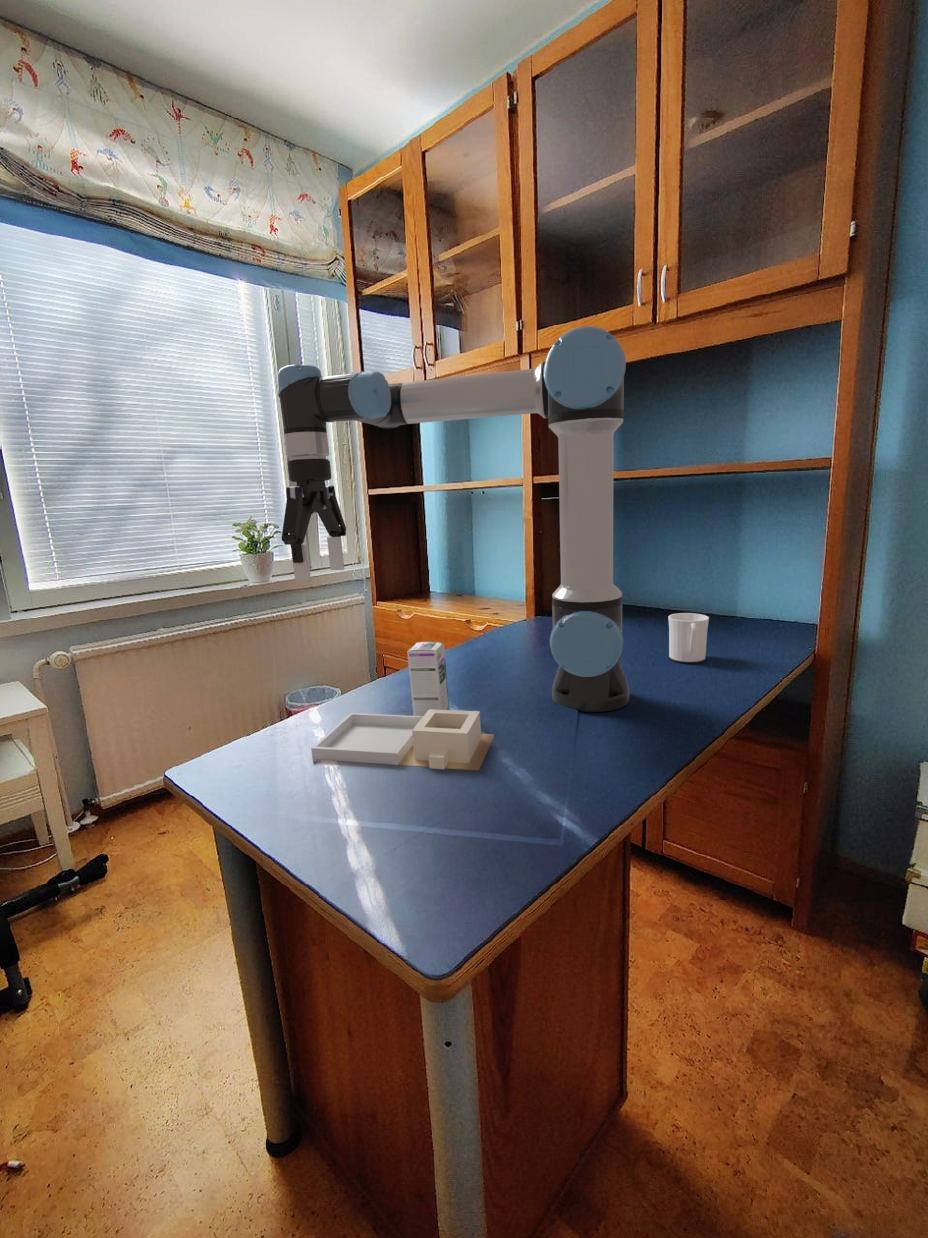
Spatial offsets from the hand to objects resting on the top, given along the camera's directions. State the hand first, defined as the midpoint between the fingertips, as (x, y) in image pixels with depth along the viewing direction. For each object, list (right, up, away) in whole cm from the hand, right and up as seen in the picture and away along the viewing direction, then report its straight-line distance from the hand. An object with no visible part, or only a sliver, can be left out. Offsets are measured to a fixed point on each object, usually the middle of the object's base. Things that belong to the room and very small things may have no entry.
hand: (321, 575), depth 108 cm
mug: (+80, -18, +27) cm, 87 cm away
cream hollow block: (+24, -30, -15) cm, 41 cm away
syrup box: (+21, -27, +1) cm, 35 cm away
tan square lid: (+25, -30, -13) cm, 41 cm away
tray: (+11, -30, -9) cm, 33 cm away
